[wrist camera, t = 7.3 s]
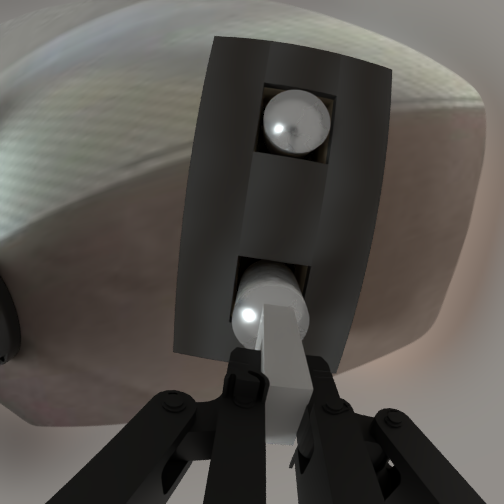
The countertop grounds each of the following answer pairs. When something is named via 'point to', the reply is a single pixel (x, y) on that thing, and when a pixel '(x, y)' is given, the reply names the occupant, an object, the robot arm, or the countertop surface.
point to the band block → (280, 192)
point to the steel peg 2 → (266, 299)
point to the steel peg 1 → (295, 124)
